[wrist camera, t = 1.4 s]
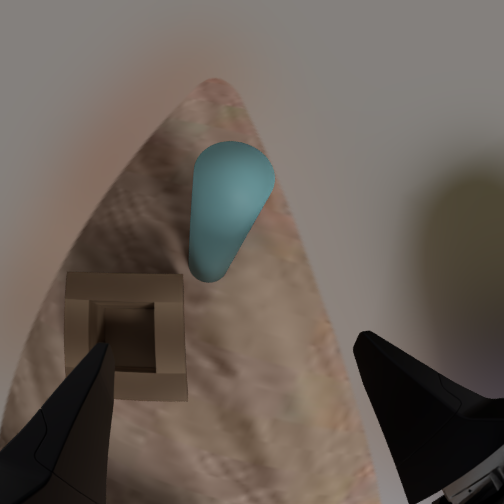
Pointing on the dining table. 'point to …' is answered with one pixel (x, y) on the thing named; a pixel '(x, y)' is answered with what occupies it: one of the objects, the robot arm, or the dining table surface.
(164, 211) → the dining table surface
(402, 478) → the robot arm
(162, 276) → the walnut hole block
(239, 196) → the teal pin
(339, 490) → the dining table surface
